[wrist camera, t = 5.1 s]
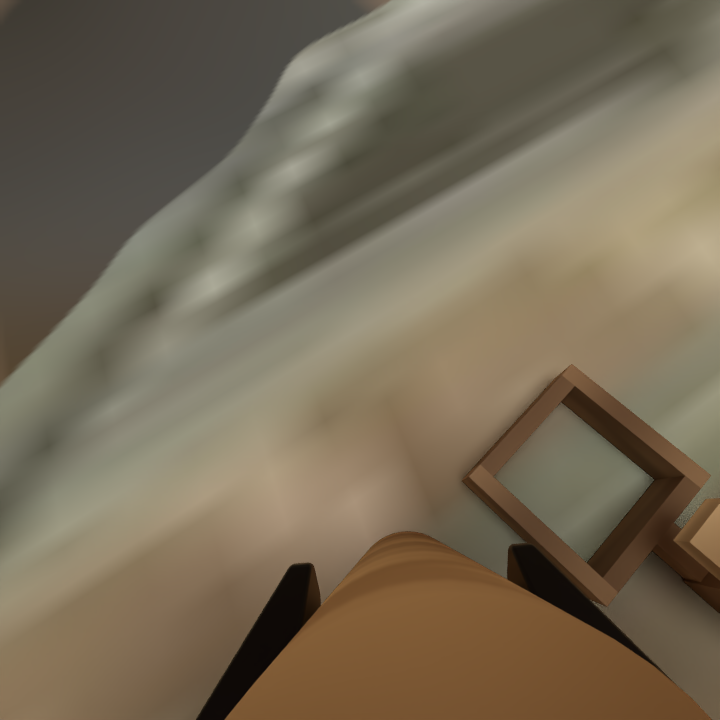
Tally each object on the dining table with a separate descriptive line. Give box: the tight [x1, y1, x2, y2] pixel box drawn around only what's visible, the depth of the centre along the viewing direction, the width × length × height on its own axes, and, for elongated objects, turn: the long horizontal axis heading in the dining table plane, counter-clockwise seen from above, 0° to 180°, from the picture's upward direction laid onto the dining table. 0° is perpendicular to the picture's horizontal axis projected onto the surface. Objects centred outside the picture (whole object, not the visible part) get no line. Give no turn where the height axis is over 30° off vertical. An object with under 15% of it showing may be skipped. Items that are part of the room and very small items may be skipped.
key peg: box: [225, 531, 712, 720], centre depth 9 cm, size 4×4×14 cm
